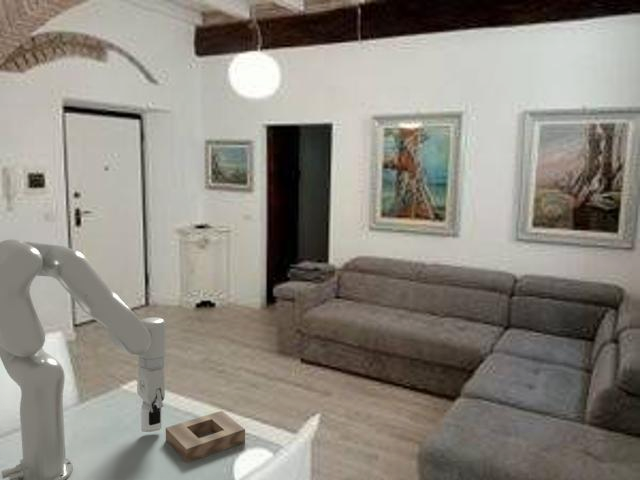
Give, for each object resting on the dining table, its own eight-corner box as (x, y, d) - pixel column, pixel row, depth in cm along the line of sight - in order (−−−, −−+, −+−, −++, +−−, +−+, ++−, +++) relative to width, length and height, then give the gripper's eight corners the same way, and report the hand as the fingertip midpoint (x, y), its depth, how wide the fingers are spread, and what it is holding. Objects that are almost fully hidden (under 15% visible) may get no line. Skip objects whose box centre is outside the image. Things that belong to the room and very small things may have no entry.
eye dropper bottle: (156, 434, 152) (156, 394, 150) (138, 431, 153) (138, 392, 151) (163, 427, 156) (164, 388, 155) (146, 424, 157) (146, 386, 156)
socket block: (186, 462, 141) (186, 449, 140) (165, 440, 151) (165, 427, 151) (245, 442, 152) (245, 429, 151) (221, 422, 163) (221, 410, 162)
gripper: (129, 354, 156) (128, 413, 158) (150, 372, 143) (149, 436, 145) (153, 350, 161) (153, 407, 163) (176, 367, 148) (175, 428, 150)
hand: (151, 420), depth 154 cm, fingers closed on eye dropper bottle, 3 cm apart
